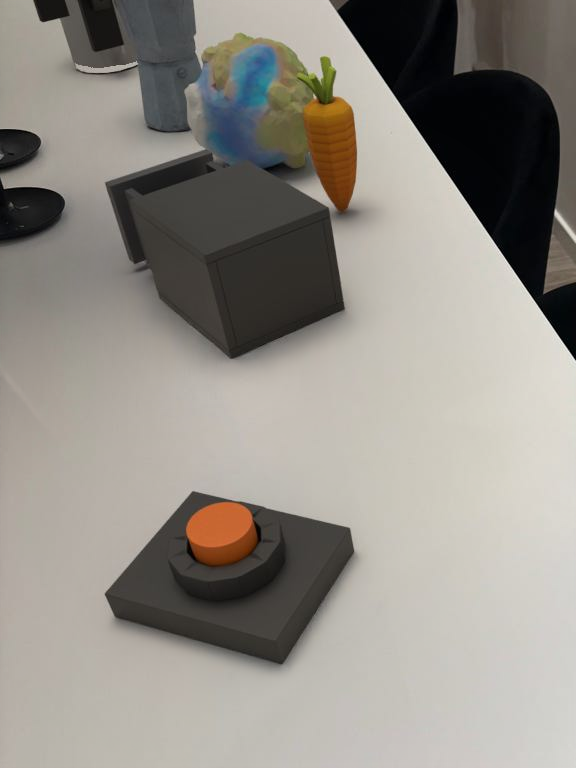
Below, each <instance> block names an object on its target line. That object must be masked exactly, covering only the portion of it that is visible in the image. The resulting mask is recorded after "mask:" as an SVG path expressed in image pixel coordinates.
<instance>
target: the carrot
mask: <svg viewBox="0 0 576 768" xmlns="http://www.w3.org/2000/svg"><path fill="white" fill-rule="evenodd" d="M319 61H320V68H321V72H322V78H320V79H319V78H318V76H317V75H316V73H315V72H311V73H308V75H309V77H307V76H306V75H304V74H302V73H298V75H297V79H299V80H300V81H302V82H304V83H305V84H306V85H307V86H308V87H309V88H310V89H311V90H312V92H313V95H314V96H315V97H314V99H313V100H312V101H311V102H310V103H308V104H307V105H306V106H305V107H304V109H303V121H304V126H305V131H306V136H307V141H308V145H309V150H310V152H309V153H310V157H311V160H312V163H313V167H314V169H315V171H316V174H317V177H318V179H319V182H320V185H321V186H322V188H323V191H324V193H326V196H327V197H328V199H329V200H330V201H331V202H332V204H333V206H334V208H335V209H336V210H337V211H339V212H340V213H345V211H346V210H347V209H348V208H349V205H350V202H351V200H352V198H353V194H354V191H355V190H354V189H355V186H356V183H357V182H356V180H357V169H358V168H357V166H358V144H357V132H356V121H355V113H354V110H353V108H352V106H351V105H350V104H349V103H348V102H347V101H346V100H345V99H344V98H343V97H340V96H334V84H335V80H336V78H337V77H336V76H337V69H336V68H335V67H333V66H332V62H331V58H330V57H328V56H326V55H321V57H319Z"/></svg>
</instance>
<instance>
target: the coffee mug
mask: <svg viewBox="0 0 576 768" xmlns="http://www.w3.org/2000/svg"><path fill="white" fill-rule="evenodd" d="M65 2H66V5H67V8H68V11H69V15H70V16H68V17H63V18H59V20H60V24H61V26H62V30H63V33H64V36H65V40H66V43H67V47H68V49H69V52H70V56H71V58H72V62H73V61H74V62H73V64H74V63H76V64H78V65H82V66H88V67H91V68H92V67H93V68H104V67H110V66H116V65H126V64H129V63H133V62H136V61H137V58H138V57H137V56H136V54H135V50H134V46H133V43H132V41H131V40H130V39H129V37H128V35H127V32H126V30H125V27H124V24H123V22H122V19H121V16H120V13H119V11H118V9H117V7H116V5H115V3H114V0H112V2H113V6H114V9H115V13H116V16H117V20H118V24H119V27H120V31H121V35H122V38H123V42H124V45H122V46H118V47H114V48H110V49H106V50H103V51H99V52H94V51H93V50H92V48H91V44H90V41H89V38H88V34H87V31H86V28H85V24H84V21H83V18H82V14H81V11H80V8H79V4H78V1H77V0H65Z"/></svg>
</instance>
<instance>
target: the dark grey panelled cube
mask: <svg viewBox="0 0 576 768" xmlns="http://www.w3.org/2000/svg"><path fill="white" fill-rule="evenodd" d="M130 203H131V206H132V209H133V213H134V216H135V219H136V223H137V226H138V229H139V233H140V236H141V239H142V242H143V246H144V249H145V252H146V255H147V259H148V262H149V265H150V266H149V265H148V266H149V269H150V272H151V274H152V279H153V281H154V285H155V287H156V288H155V289H156V291H157V295H158V298H159V299H160V300H161V301H162V302H163V303H165V304H166V306H168V307H169V308H170V309H172V310H173V311H174V312H175V313H177V315H179V316H180V317H181V318H182V319H183V320H184V321H185V322H187V323H189V324H190V325H191V326H192V327H193V328H194V329H195V330H197V332H199V333H200V334H202V335H203V336H204V337H205V338H206V339H208V340H209V341H210V342H211V343H212V344H213V345H215V346H216V347H217V348H218V349H219V350H221V352H223V353H224V354H225V355H227V357H229V358H230V359H234V358H236V357H239V356H240V355H243V354H245V353H247V352H250V351H252V350H255V349H256V348H259V347H261V346H263V345H266V344H267V343H270V342H272V341H274V340H277V339H279V338H281V337H283V336H286V335H288V334H291V333H293V332H295V331H297V330H299V329H301V328H304V327H306V326H308V325H312V324H313V323H315V322H317V321H321V320H322V319H324V318H326V317H329V316H332V315H334V314H336V313H338V312H340V311H343V310H345V309H346V307H345V302H344V295H343V288H342V281H341V276H340V270H339V262H338V257H337V251H336V244H335V238H334V231H333V224H332V218H331V213H330V207H329V206H327V205H325V204H323V203H321V202H320V201H318V200H317V199H314V198H313V197H311V196H310V195H308V194H306V193H305V192H303V191H301V190H300V189H298V188H296V187H294V186H293V185H291V184H290V183H287V181H284V180H282V179H281V178H279V177H277V176H276V175H274V174H272V173H271V172H269V171H267V170H266V169H265V168H264V169H262V168H260V167H259V166H257V165H255V164H253V163H252V162H250V161H248V160H246V161H243V162H240V163H237V164H234V165H231V166H230V165H229V166H226V167H223V168H222V169H219V170H216V171H213V172H211V173H208V174H205V175H202V176H199V177H196V178H193V179H190V180H187V181H184V182H181V183H178V184H175V185H172V186H169V187H166V188H164V189H161V190H158V191H155V192H152V193H149V194H146V195H143V196H140V197H137V198H134V199H131V200H130Z"/></svg>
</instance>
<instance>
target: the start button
mask: <svg viewBox="0 0 576 768" xmlns="http://www.w3.org/2000/svg"><path fill="white" fill-rule="evenodd" d="M186 533H187V537H188V540H189V542H190V545H191V548H192V551H193V554H194V556H195V558H196V559H197V560H198V561H199V562H201V563H202V564H204V565H207V566H211V567H218V566H225V565H231V564H235V563H237V562H238V561H240V560H242V559H244V558H246V557H247V556H249V555H250V554H251V553H252V552H253V551H254V549H255V547H256V545H257V542H258V536H257V532H256V529H255V525H254V522H253V518H252V515H251V513H250V511H249V510H248V509H247V508H246V507H244V506H243V505H240V504H237V503H232V502H222V503H216V504H212V505H209V506H207V507H204V508H203V509H201V510H199V511H198V512H197V513H195V514H194V515H193V516H192V517H191V519H190V520H189V522H188V524H187V528H186Z"/></svg>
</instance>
